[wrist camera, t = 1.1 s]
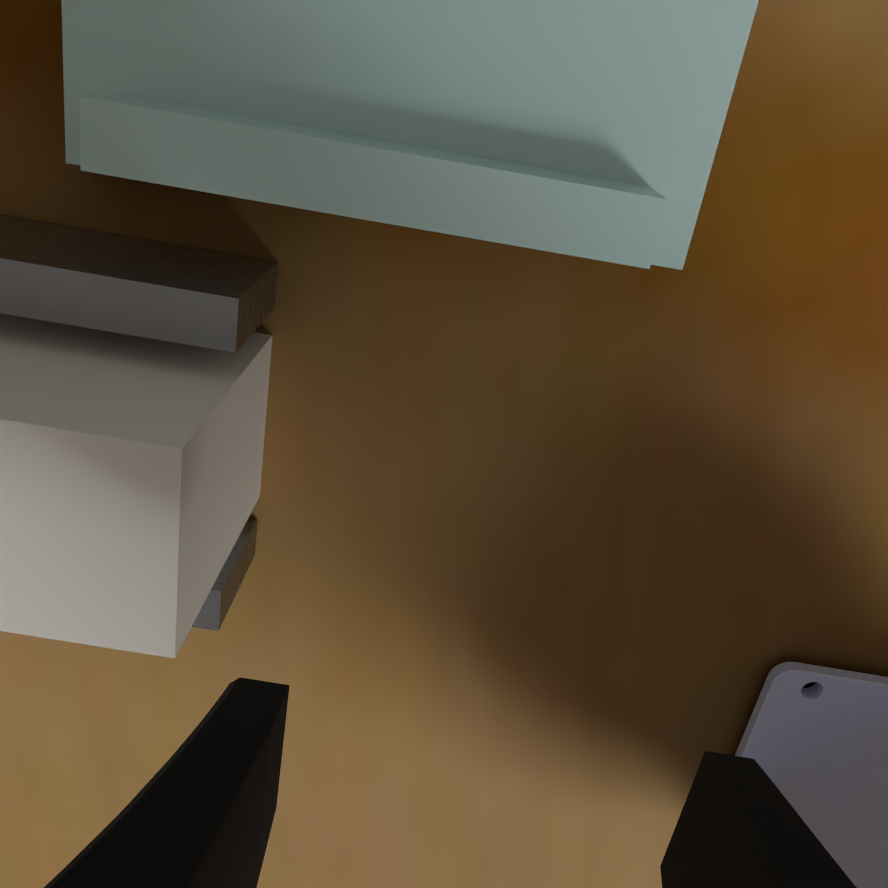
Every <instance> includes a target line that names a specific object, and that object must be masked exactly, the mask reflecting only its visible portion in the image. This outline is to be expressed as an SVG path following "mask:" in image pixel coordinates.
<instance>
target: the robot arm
mask: <svg viewBox="0 0 888 888" xmlns="http://www.w3.org/2000/svg"><path fill="white" fill-rule="evenodd" d="M810 682H816V683H815V684H814V685H813V686H811V687H809V688H803V686H804V685H805V684H807V683H810ZM288 693H289V685H284V684H278V683H271V682H265V681H259V680H252V679H246V678H238V679H236V680H235V681H233V682H231V683H230V684H229V685H228V687H227V688H226V689H225V691H224V692H223V694H222V695H221V696H220V698H219V699H218V700H217V702H216V703H215V704H214V706H213V707H212V708H211V710H210V711H209V712H208V713H207V715H206V716H205V717H204V719H203V720H202V721H201V722H200V724H199V725H198V726H197V727H196V728H195V730H194V731H193V732H192V733H191V734H190V736H189V737H188V738H187V739H186V740H185V742H184V743H183V744H182V745H181V746H180V747H179V749H178V750H177V751H176V752H175V753H174V754H173V756H172V757H171V758H170V759H169V760H168V761H167V763H166V764H165V765H164V766H163V767H162V768H161V769H160V770H159V771H158V772H157V773H156V775H155V776H154V777H153V778H152V779H151V780H150V781H149V782H148V783H147V784H146V785H145V787H144V788H143V789H142V790H141V791H140V792H139V793H138V794H137V795H136V796H135V797H134V799H133V800H132V801H131V802H130V803H129V804H128V805H127V806H126V807H125V808H124V809H123V810H122V811H121V812H120V814H119V815H118V816H117V817H116V818H115V819H114V820H113V821H112V822H111V823H110V824H109V825H108V826H107V827H106V828H105V829H104V830H103V831H102V832H101V833H100V834H99V835H98V836H97V837H96V838H95V839H94V840H92V841H91V842H90V843H89V844H88V845H87V846H86V847H85V848H84V849H83V850H82V851H81V852H80V853H79V854H78V855H77V856H76V857H75V858H74V859H73V860H72V861H71V862H70V863H69V864H68V865H67V866H66V867H65V868H64V869H63V870H62V871H61V872H60V873H59V874H58V875H57V876H56V877H55V878H54V879H53V880H52V881H50V882H49V883H48V884H47V885H46V886H45V887H44V888H256V887H257V883H258V879H259V875H260V871H261V867H262V863H263V859H264V855H265V851H266V847H267V843H268V839H269V834H270V830H271V826H272V822H273V818H274V814H275V810H276V804H277V795H278V786H279V776H280V767H281V758H282V748H283V739H284V730H285V721H286V711H287V702H288ZM660 867H661V877H662V887H663V888H888V677H884V676H878V675H872V674H866V673H860V672H853V671H847V670H841V669H835V668H829V667H822V666H816V665H810V664H804V663H798V662H784V663H781V664H778V665H777V666H775V667H774V668H772V670H771V671H770V672H769V674H768V676H767V678H766V681H765V683H764V686H763V688H762V690H761V693H760V695H759V698H758V700H757V703H756V705H755V708H754V710H753V712H752V715H751V717H750V720H749V722H748V725H747V727H746V730H745V732H744V734H743V737H742V739H741V742H740V744H739V747H738V749H737V752H736V754H735V756H733V755H727V754H721V753H714V752H708V751H705V753H704V755H703V758H702V761H701V763H700V766H699V768H698V771H697V773H696V776H695V779H694V781H693V784H692V786H691V789H690V791H689V794H688V797H687V799H686V802H685V804H684V807H683V809H682V812H681V815H680V817H679V820H678V822H677V825H676V827H675V830H674V833H673V835H672V838H671V840H670V843H669V846H668V848H667V851H666V853H665V856H664V858H663V861H662V864H661V866H660Z"/></svg>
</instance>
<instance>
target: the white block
mask: <svg viewBox="0 0 888 888" xmlns="http://www.w3.org/2000/svg"><path fill="white" fill-rule="evenodd" d="M271 348H272V335H268V334H263V333H257V332H253V333H252V335H251V336H250V337H249V338H248V339H247V340H246V341H245V343H244V344H243V345H242V346H241V347H240V348H239V349H238V351H237V352H236V353H234V352H228V351H222V350H216V349H210V348H204V347H198V346H192V345H187V344H181V343H175V342H169V341H163V340H157V339H151V338H145V337H139V336H133V335H127V334H121V333H115V332H109V331H103V330H97V329H91V328H86V327H80V326H74V325H68V324H62V323H56V322H50V321H44V320H38V319H32V318H26V317H20V316H14V315H8V314H2V313H0V631H4V632H10V633H17V634H23V635H29V636H36V637H42V638H48V639H55V640H61V641H67V642H74V643H80V644H86V645H93V646H99V647H105V648H112V649H118V650H124V651H131V652H137V653H143V654H150V655H156V656H162V657H169V658H175V657H176V655H177V653H178V652H179V650H180V648H181V646H182V644H183V642H184V640H185V638H186V636H187V634H188V632H189V631H190V629H191V627H192V625H193V623H194V621H195V619H196V617H197V615H198V613H199V611H200V610H201V608H202V606H203V604H204V602H205V600H206V598H207V596H208V594H209V592H210V590H211V589H212V587H213V585H214V583H215V581H216V579H217V577H218V575H219V573H220V571H221V569H222V568H223V566H224V564H225V562H226V560H227V558H228V556H229V554H230V552H231V550H232V548H233V547H234V545H235V543H236V541H237V539H238V537H239V535H240V533H241V531H242V529H243V527H244V526H245V524H246V522H247V520H248V518H249V516H250V514H251V512H252V510H253V508H254V506H255V505H256V503H257V501H258V499H259V497H260V486H261V473H262V461H263V448H264V436H265V423H266V411H267V398H268V385H269V373H270V360H271Z"/></svg>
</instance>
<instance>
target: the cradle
mask: <svg viewBox="0 0 888 888" xmlns="http://www.w3.org/2000/svg"><path fill="white" fill-rule="evenodd" d="M758 1H759V0H61V3H62V41H63V79H64V118H65V156H66V163H68V164H74V165H80V166H81V171H86V172H92V173H98V174H104V175H109V176H115V177H121V178H127V179H132V180H138V181H144V182H150V183H156V184H161V185H167V186H173V187H179V188H184V189H190V190H196V191H202V192H207V193H213V194H219V195H225V196H231V197H236V198H242V199H248V200H254V201H259V202H265V203H271V204H277V205H283V206H288V207H294V208H300V209H306V210H311V211H317V212H323V213H329V214H335V215H340V216H346V217H352V218H358V219H363V220H369V221H375V222H381V223H386V224H392V225H398V226H404V227H410V228H415V229H421V230H427V231H433V232H438V233H444V234H450V235H456V236H462V237H467V238H473V239H479V240H485V241H490V242H496V243H502V244H508V245H513V246H519V247H525V248H531V249H537V250H542V251H548V252H554V253H560V254H565V255H571V256H577V257H583V258H589V259H594V260H600V261H606V262H612V263H617V264H623V265H629V266H635V267H640V268H646V269H650V266H651V265H657V266H662V267H668V268H674V269H680V270H683V266H684V263H685V259H686V256H687V252H688V249H689V245H690V242H691V238H692V234H693V231H694V227H695V224H696V220H697V217H698V213H699V210H700V206H701V203H702V199H703V196H704V192H705V189H706V185H707V181H708V178H709V174H710V171H711V167H712V164H713V160H714V157H715V153H716V150H717V146H718V143H719V139H720V136H721V132H722V128H723V125H724V121H725V118H726V114H727V111H728V107H729V104H730V100H731V97H732V93H733V90H734V86H735V83H736V79H737V75H738V72H739V68H740V65H741V61H742V58H743V54H744V51H745V47H746V44H747V40H748V37H749V33H750V30H751V26H752V23H753V19H754V15H755V12H756V8H757V5H758Z"/></svg>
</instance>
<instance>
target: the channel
mask: <svg viewBox="0 0 888 888" xmlns="http://www.w3.org/2000/svg"><path fill="white" fill-rule="evenodd" d="M277 265H278V262H272V261H266V260H260V259H255V258H249V257H243V256H237V255H231V254H225V253H220V252H214V251H208V250H202V249H196V248H190V247H185V246H179V245H173V244H167V243H161V242H155V241H150V240H144V239H138V238H132V237H126V236H120V235H115V234H109V233H103V232H97V231H91V230H85V229H80V228H74V227H68V226H62V225H56V224H50V223H45V222H39V221H33V220H27V219H21V218H15V217H10V216H4V215H0V313H2V314H8V315H14V316H20V317H26V318H32V319H38V320H44V321H50V322H56V323H62V324H68V325H74V326H80V327H86V328H91V329H97V330H103V331H109V332H115V333H121V334H127V335H133V336H139V337H145V338H151V339H157V340H163V341H169V342H175V343H181V344H187V345H192V346H198V347H204V348H210V349H216V350H222V351H228V352H234V353H236V352H237V351H238V349H239V348H240V347H241V346H242V345H243V344H244V343H245V341H246V340H247V339H248V338H249V337H250V336H251V335H252V333H253V332H254V331H255V330H256V329H257V328H258V327H259V325H260V324H261V323H262V322H263V321H264V320H265V319H266V318H267V316H268V315H269V314H270V313H271V312H272V311H273V310H274V303H275V291H276V278H277ZM256 531H257V519H251V518H248V520H247V522H246V524H245V526H244V527H243V529H242V531H241V533H240V535H239V537H238V539H237V541H236V543H235V545H234V547H233V548H232V550H231V552H230V554H229V556H228V558H227V560H226V562H225V564H224V566H223V568H222V569H221V571H220V573H219V575H218V577H217V579H216V581H215V583H214V585H213V587H212V589H211V590H210V592H209V594H208V596H207V598H206V600H205V602H204V604H203V606H202V608H201V610H200V611H199V613H198V615H197V617H196V619H195V621H194V623H193V625H192V627H198V628H204V629H211V630H217V631H219V629H220V627H221V625H222V623H223V621H224V619H225V616H226V614H227V612H228V610H229V608H230V606H231V604H232V602H233V600H234V597H235V595H236V593H237V591H238V589H239V587H240V585H241V583H242V581H243V578H244V576H245V574H246V572H247V570H248V568H249V566H250V564H251V562H252V559H253V557H254V555H255V544H256Z"/></svg>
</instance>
